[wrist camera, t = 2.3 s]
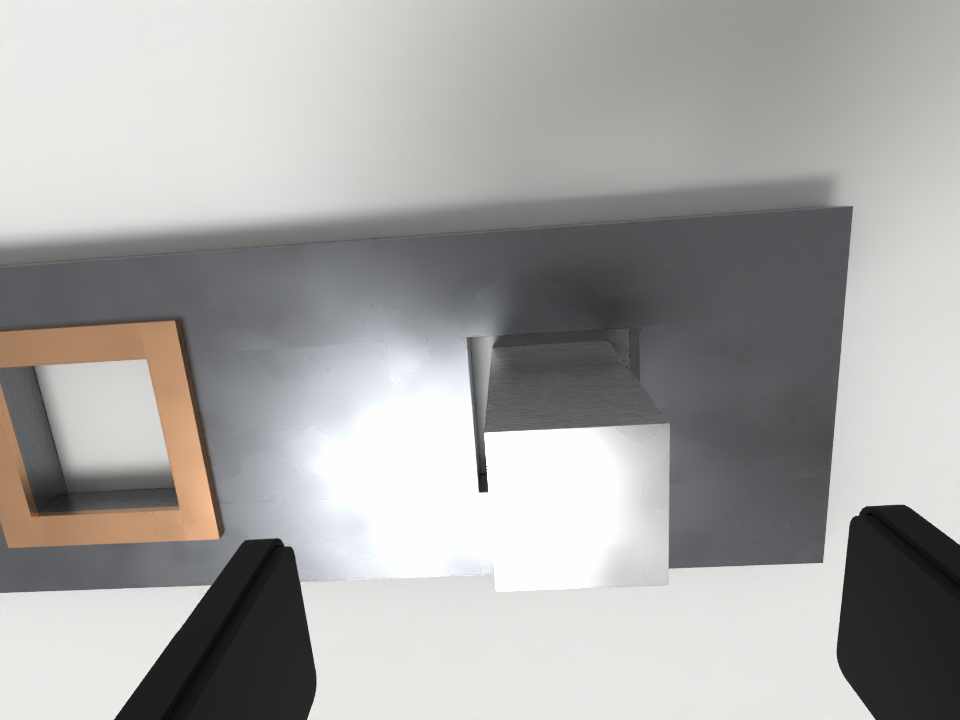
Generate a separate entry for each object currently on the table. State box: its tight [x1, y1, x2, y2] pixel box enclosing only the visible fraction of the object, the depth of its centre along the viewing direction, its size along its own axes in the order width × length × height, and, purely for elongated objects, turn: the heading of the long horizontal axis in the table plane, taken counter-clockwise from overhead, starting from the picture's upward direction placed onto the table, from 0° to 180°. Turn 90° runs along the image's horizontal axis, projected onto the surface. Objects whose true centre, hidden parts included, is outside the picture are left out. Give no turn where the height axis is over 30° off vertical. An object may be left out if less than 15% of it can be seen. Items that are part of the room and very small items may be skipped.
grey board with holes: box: [0, 206, 853, 593], centre depth 21 cm, size 34×12×2 cm, turn 94°
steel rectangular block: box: [484, 341, 670, 591], centre depth 17 cm, size 4×4×8 cm
